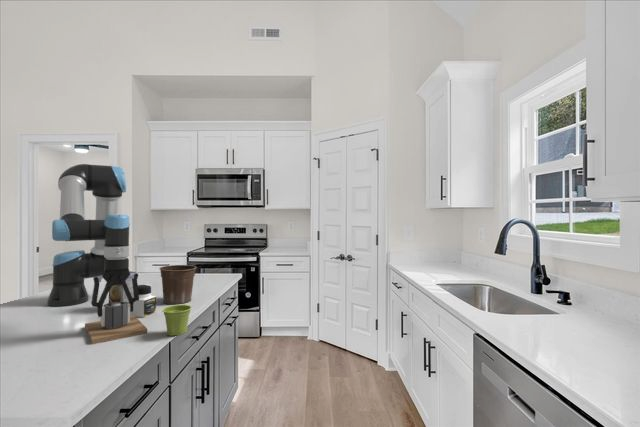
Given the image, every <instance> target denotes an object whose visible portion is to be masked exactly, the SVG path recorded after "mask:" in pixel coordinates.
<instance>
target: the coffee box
mask: <svg viewBox="0 0 640 427" xmlns="http://www.w3.org/2000/svg"><path fill="white" fill-rule="evenodd" d="M129 272H130V273H137V271H130V270H129ZM126 284H127V286H128V289H129V291H130V293H131V296H132V298H133V297H134V293H133V285H132V279H131V277H130V276H129V277H128V278H127V279H126ZM111 302H129V301H128V298H127V296H126V294H125V291H124V289H123V287H122V285H118V284H116V285H112V286H111V288H110V290H109V292H108V303H111Z"/></svg>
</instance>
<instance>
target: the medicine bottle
mask: <svg viewBox="0 0 640 427" xmlns="http://www.w3.org/2000/svg"><path fill="white" fill-rule="evenodd" d="M138 292H139V300H138V301H135V302H134V303H133V312H130V316H134V315H135V316H136V318H146V317H149V316H151V315H154V314H156V313H157V296H156V295H152V286H151V285H150V284H138Z"/></svg>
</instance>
